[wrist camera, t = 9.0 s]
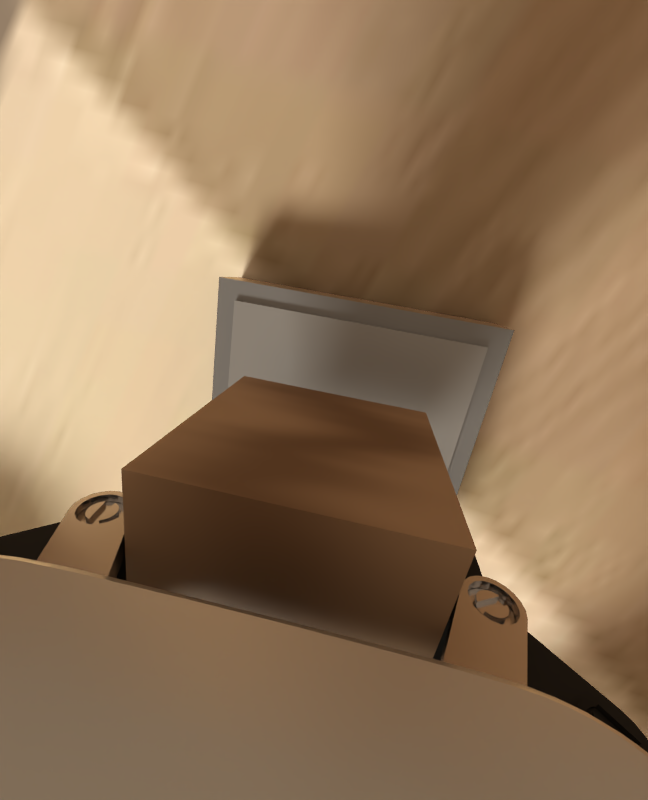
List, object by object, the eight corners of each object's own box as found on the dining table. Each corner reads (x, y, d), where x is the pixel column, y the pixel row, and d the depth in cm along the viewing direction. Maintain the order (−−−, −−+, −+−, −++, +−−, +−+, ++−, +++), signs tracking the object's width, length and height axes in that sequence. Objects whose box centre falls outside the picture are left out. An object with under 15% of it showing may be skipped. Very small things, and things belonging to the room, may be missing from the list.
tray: (494, 323, 16) (516, 330, 13) (425, 533, 20) (432, 570, 18) (241, 277, 17) (217, 276, 14) (224, 487, 21) (203, 515, 18)
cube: (425, 412, 11) (476, 550, 6) (384, 557, 13) (389, 763, 8) (244, 376, 12) (121, 469, 6) (231, 521, 14) (131, 692, 8)
